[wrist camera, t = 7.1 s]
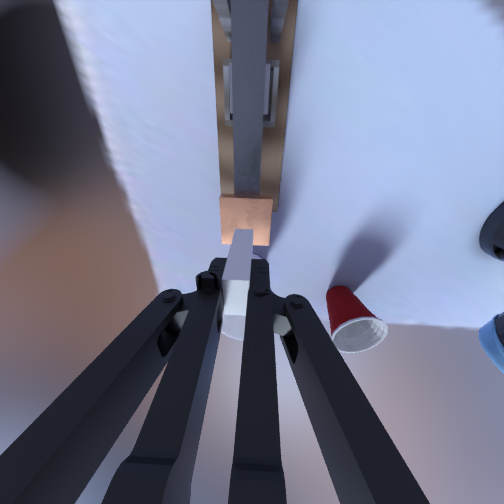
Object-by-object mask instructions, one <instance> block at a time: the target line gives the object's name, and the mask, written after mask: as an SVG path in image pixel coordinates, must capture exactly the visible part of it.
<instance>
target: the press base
mask: <svg viewBox="0 0 504 504" xmlns="http://www.w3.org/2000/svg"><path fill="white" fill-rule="evenodd" d="M297 4H298V0H269V3H268V25H267V46H266V64H271V65H270V83H269V100H268V115H263V131H262V152H261V173H260V194H259V195H272V197H273V204H272V212H277V209H278V199H279V189H280V179H281V168H282V158H283V148H284V137H285V127H286V117H287V107H288V96H289V86H290V76H291V65H292V55H293V45H294V34H295V24H296V14H297ZM211 13H212V32H213V51H214V71H215V90H216V109H217V128H218V147H219V167H220V186H221V194H222V193H224V194H234V154H233V114H231V113H230V88H229V63H232V47H231V0H211Z"/></svg>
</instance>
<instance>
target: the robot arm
mask: <svg viewBox="0 0 504 504" xmlns="http://www.w3.org/2000/svg"><path fill="white" fill-rule="evenodd" d="M479 242H480V246H481V248H482V250H483V251H484V252H486V253H487V254H489V255H491V256H493V257H494V258H496V259H498V260H501V261H504V203H503V204H502V205H501V206H500V207H499V208H498V209H496V210H495V211H494V212H493V214H492V215H491V216H490V217H489V218H488V220H487V221H486V223H485V224H484V226H483V228H482V230H481V233H480V238H479ZM252 258H253V229H235V231H234V235H233V239H232V243H231V246H230V250H229V254H228V258H215V259H214V260H213V261H212V262H211V264H210V267H209V269H208V271H204V272H201V273H200V274H198V275H197V276H196V277H195V278H196V285H197V291H195V292H192V293H187V294H182V293H181V292H180V291H179V290H177V289H168V290H165V291H163V292H161V293H160V294H159V295H158V296H157V297H156V298H155V299H154V300H153V301H152V302H151V303H150V304H149V305H148V306H147V307H146V308H145V309H144V310H143V311H142V312H141V313H140V314H139V315H138V316H137V317H136V318H135V319H134V320H133V321H132V322H131V323H130V324H129V325H128V326H127V327H126V328H125V329H124V330H123V331H122V332H121V333H120V334H119V335H118V336H117V337H116V338H115V339H114V341H112V342H111V344H109V346H108V347H107V348H106V349H105V350H104V351H103V352H102V353H101V354H100V355H99V356H98V357H97V358H96V359H95V360H94V361H93V362H92V363H91V364H90V365H89V366H88V367H87V368H86V369H85V370H84V371H83V372H82V373H81V374H80V375H79V376H78V377H77V378H76V379H75V380H74V381H73V382H72V383H71V384H70V385H69V386H68V387H67V388H66V389H65V390H64V391H63V392H62V393H61V394H60V395H59V396H58V397H57V398H56V399H55V400H54V402H53V403H51V405H50V406H49V407H48V408H47V409H46V410H45V411H44V412H43V413H42V414H41V415H40V416H39V417H38V418H37V419H36V420H35V421H34V422H33V423H32V424H31V425H30V426H29V427H28V428H27V429H26V430H25V431H24V432H23V433H22V434H21V435H20V436H19V437H18V438H17V439H16V440H15V441H14V442H13V443H12V444H11V445H10V446H9V447H8V448H7V449H6V450H5V451H4V452H3V453H2V454H1V455H0V504H75V502H76V500H77V499H78V498H79V496H80V495H81V493H82V492H83V490H84V489H85V487H86V485H87V484H88V483H89V481H90V480H91V478H92V476H93V475H94V473H95V472H96V470H97V469H98V467H99V466H100V464H101V463H102V461H103V460H104V458H105V457H106V455H107V454H108V452H109V451H110V449H111V447H112V446H113V444H114V443H115V441H116V440H117V438H118V437H119V435H120V434H121V432H122V431H123V429H124V428H125V426H126V424H127V423H128V422H129V420H130V418H131V417H132V416H133V414H134V412H135V411H136V409H137V408H138V406H139V405H140V403H141V402H142V400H143V399H144V397H145V396H146V394H147V393H148V391H149V390H150V388H151V387H152V385H153V383H154V382H155V380H156V379H157V377H158V376H159V374H160V373H161V371H162V370H163V368H164V367H165V365H166V364H167V362H168V364H167V366H166V369H165V371H164V374H163V376H162V379H161V381H160V384H159V386H158V389H157V391H156V394H155V396H154V399H153V401H152V404H151V406H150V409H149V411H148V414H147V416H146V419H145V421H144V424H143V426H142V429H141V431H140V434H139V436H138V439H137V441H136V444H135V446H134V448H133V451H132V452H131V454H130V455H129V456H128V457H127V458H126V459H125V460H124V461H123V462H122V463H121V464H120V466H119V467H118V469H117V470H116V473H115V474H114V476H113V478H112V480H111V483H110V485H109V487H108V489H107V492H106V494H105V496H104V499H103V501H102V503H101V504H189V503H190V494H191V481H192V475H193V470H194V465H195V460H196V455H197V450H198V444H199V440H200V435H201V429H202V424H203V419H204V414H205V409H206V404H207V399H208V394H209V389H210V383H211V379H212V374H213V369H214V364H215V358H216V353H217V349H218V343H219V338H220V333H221V328H222V323H223V318H222V315H223V311H224V315H243V316H246V318H245V330H244V342H243V353H242V364H241V376H240V387H239V399H238V409H237V421H236V432H235V444H234V455H233V464H232V470H231V478H230V488H229V499H228V504H287V502H286V488H285V478H284V472H283V468H282V462H281V449H280V433H279V415H278V397H277V381H276V362H275V345H274V333H276V334H279V335H280V338H281V341H282V344H283V346H284V349H285V352H286V355H287V358H288V360H289V363H290V366H291V369H292V371H293V374H294V377H295V380H296V383H297V385H298V388H299V391H300V393H301V396H302V399H303V402H304V405H305V407H306V410H307V413H308V416H309V419H310V421H311V424H312V426H313V430H314V432H315V435H316V438H317V441H318V443H319V446H320V449H321V452H322V454H323V457H324V460H325V463H326V466H327V468H328V471H329V474H330V477H331V479H332V482H333V485H334V488H335V490H336V493H337V496H338V499H339V501H340V504H430V503H429V501H428V500H427V498H426V496H425V495H424V493H423V491H422V490H421V488H420V486H419V485H418V483H417V481H416V480H415V478H414V476H413V475H412V473H411V471H410V470H409V468H408V466H407V465H406V463H405V461H404V460H403V458H402V456H401V455H400V453H399V451H398V450H397V448H396V446H395V445H394V443H393V441H392V439H391V438H390V436H389V434H388V433H387V431H386V430H385V428H384V426H383V425H382V423H381V421H380V420H379V418H378V416H377V415H376V413H375V411H374V410H373V408H372V406H371V404H370V403H369V401H368V399H367V398H366V396H365V394H364V393H363V391H362V389H361V388H360V386H359V384H358V383H357V381H356V379H355V378H354V376H353V374H352V373H351V371H350V370H349V368H348V366H347V364H346V363H345V362H344V359H343V358H342V356H341V354H340V353H339V351H338V349H337V348H336V346H335V344H334V343H333V341H332V339H331V338H330V336H329V334H328V333H327V332H326V329H325V328H324V326H323V324H322V323H321V321H320V319H319V318H318V316H317V314H316V313H315V311H314V309H313V308H312V306H311V304H310V303H309V301H308V300H307V299H306V298H305V297H303V296H301V295H298V294H292V295H288V296H287V297H286V298H282V297H279V296H277V295H275V294H274V293H273V292H272V291H271V289H270V277H269V263H268V262H267V261H266V259H252ZM478 338H479V342H480V344H481V346H482V348H483V349H484V351H485V352H486V354H487V355H488V357H489V358H490V359H491V360H492V362H493V363H494V364H495V365H496V366H497V367H498V368H499V369H500V370H501V371H502V373H503V374H504V312H503V313H501V314H497V315H496V316H494V317H493V319H492V320H491V321H490V322H488V323H487V324H486V325H484V326H483V327H482V328H481V329H480V330H479V336H478Z"/></svg>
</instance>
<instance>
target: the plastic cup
mask: <svg viewBox="0 0 504 504" xmlns="http://www.w3.org/2000/svg"><path fill="white" fill-rule="evenodd" d="M326 301H327V309H328V314H329V320H330V325H331V326H330V328H331V339H332V341H333V343H334V344H335V346H336V348H337V349H338V351H340V352H345V353H357V352H361V351H365V350H368V349H370V348H372V347H374V346H376V345H377V344H379V343H380V342H381V341H382V340H384V338H385V336H386V335H387V333H388V326H387V325H386V324H385V323H384V321H382V320H381V319H378V318H377V317H376V316H375V315H373V314H372V313H371V312H370V311H369V310H368V309H367V308H366V307H365V306H364V305H363V303H362V302H361V301H360V300H359V299H358V298H357V297H356V296H355V295H354V294H353V293H352V292H351V290H350V289H348V288H347V287H345V286H336V287H333V288H331V289H330V290H329V291H328V292H327V295H326Z"/></svg>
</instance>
